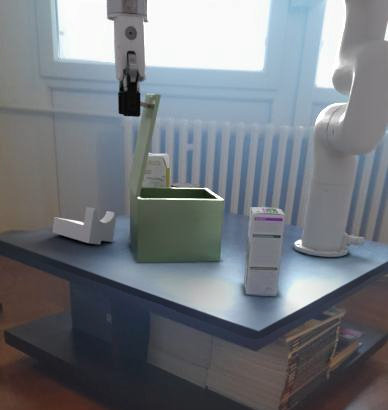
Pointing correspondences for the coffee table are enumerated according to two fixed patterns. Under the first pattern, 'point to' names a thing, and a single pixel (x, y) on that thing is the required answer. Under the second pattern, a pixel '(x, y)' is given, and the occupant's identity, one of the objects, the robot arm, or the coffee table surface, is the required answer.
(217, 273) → the coffee table surface
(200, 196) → the trash bin
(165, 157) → the juice carton
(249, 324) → the coffee table surface
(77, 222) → the bracket
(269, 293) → the syrup box
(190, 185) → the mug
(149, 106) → the bin lid
